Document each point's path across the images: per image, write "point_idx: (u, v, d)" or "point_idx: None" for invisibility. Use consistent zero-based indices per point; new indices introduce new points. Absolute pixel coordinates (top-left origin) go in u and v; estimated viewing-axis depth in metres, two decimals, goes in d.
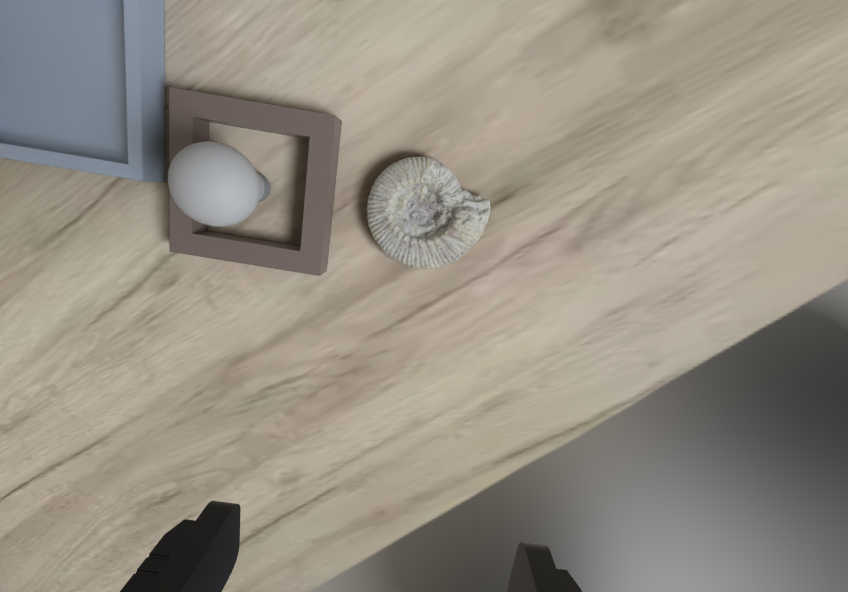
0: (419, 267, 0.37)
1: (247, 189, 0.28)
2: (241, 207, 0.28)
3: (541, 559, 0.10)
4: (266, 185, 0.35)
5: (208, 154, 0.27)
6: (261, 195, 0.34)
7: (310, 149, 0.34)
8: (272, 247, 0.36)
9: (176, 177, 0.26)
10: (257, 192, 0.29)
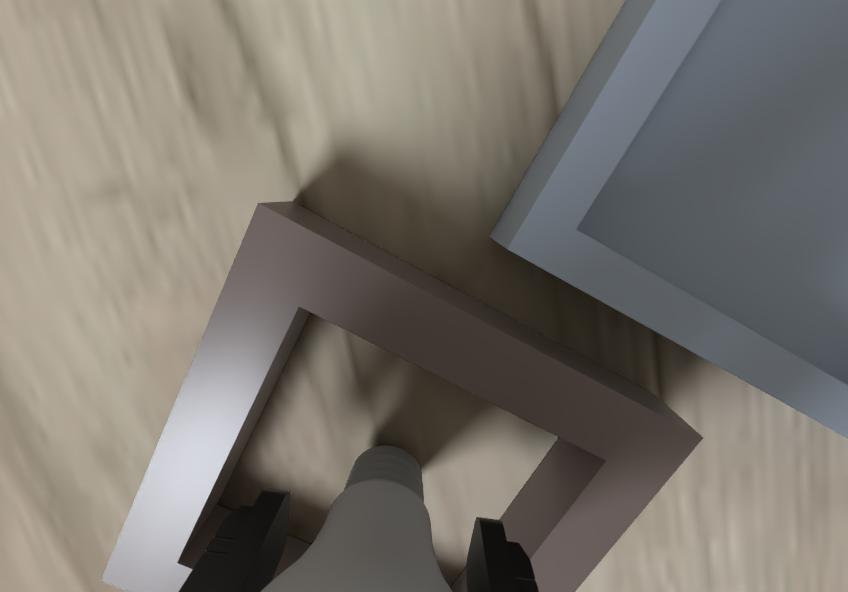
0: None
1: None
2: None
3: (494, 531, 0.11)
4: None
5: None
6: None
7: None
8: (202, 504, 0.12)
9: None
10: None
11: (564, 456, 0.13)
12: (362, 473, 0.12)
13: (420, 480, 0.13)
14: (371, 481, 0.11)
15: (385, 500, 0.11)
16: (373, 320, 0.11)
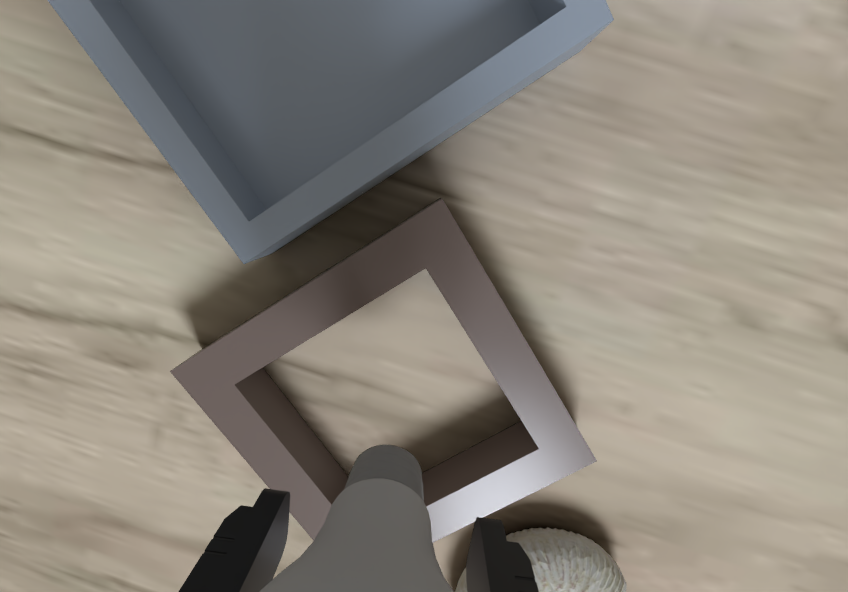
0: None
1: None
2: None
3: (493, 531, 0.11)
4: None
5: None
6: None
7: (521, 461, 0.18)
8: (329, 503, 0.19)
9: None
10: None
11: None
12: (362, 472, 0.12)
13: (420, 479, 0.13)
14: (371, 480, 0.11)
15: (385, 499, 0.11)
16: (260, 352, 0.17)
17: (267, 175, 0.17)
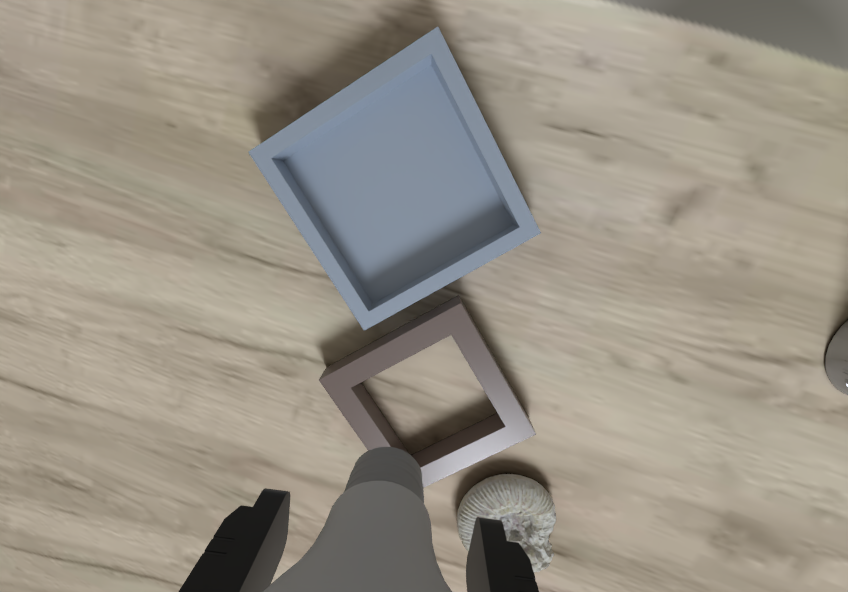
0: (467, 550, 0.39)
1: None
2: None
3: (493, 531, 0.11)
4: None
5: None
6: None
7: (496, 433, 0.35)
8: None
9: None
10: None
11: None
12: (362, 474, 0.12)
13: (420, 481, 0.13)
14: (371, 482, 0.11)
15: (385, 502, 0.11)
16: (365, 372, 0.33)
17: (372, 283, 0.33)
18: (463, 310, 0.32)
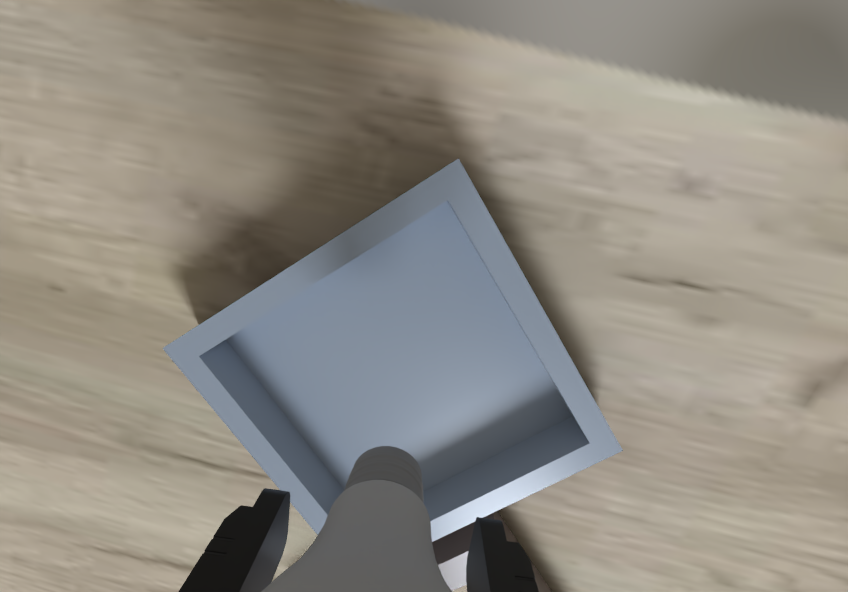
0: None
1: None
2: None
3: (493, 531, 0.11)
4: None
5: None
6: None
7: None
8: None
9: None
10: None
11: None
12: (362, 473, 0.12)
13: (420, 480, 0.13)
14: (371, 482, 0.11)
15: (384, 501, 0.11)
16: None
17: None
18: None
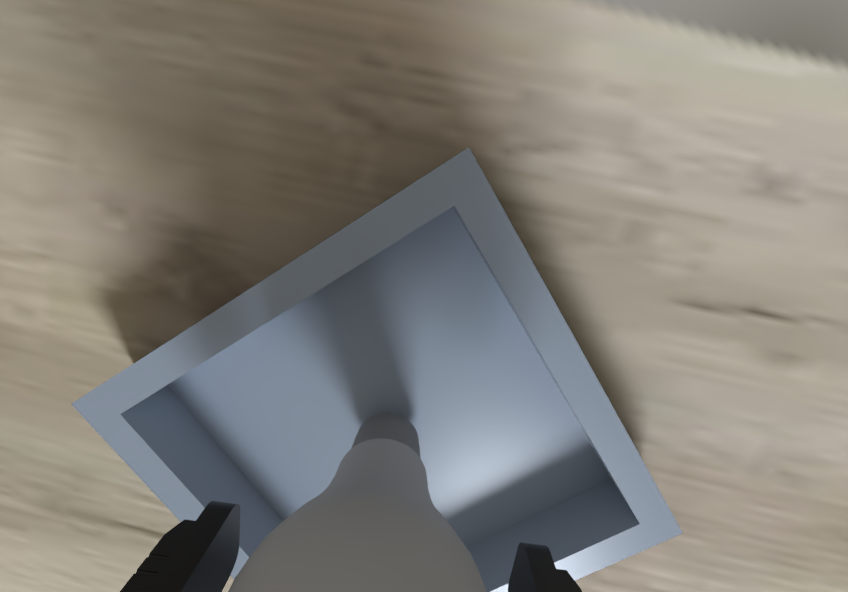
0: None
1: None
2: None
3: (541, 559, 0.10)
4: None
5: None
6: None
7: None
8: None
9: None
10: None
11: None
12: (366, 435, 0.14)
13: (417, 442, 0.15)
14: (375, 439, 0.13)
15: (388, 454, 0.12)
16: None
17: None
18: None
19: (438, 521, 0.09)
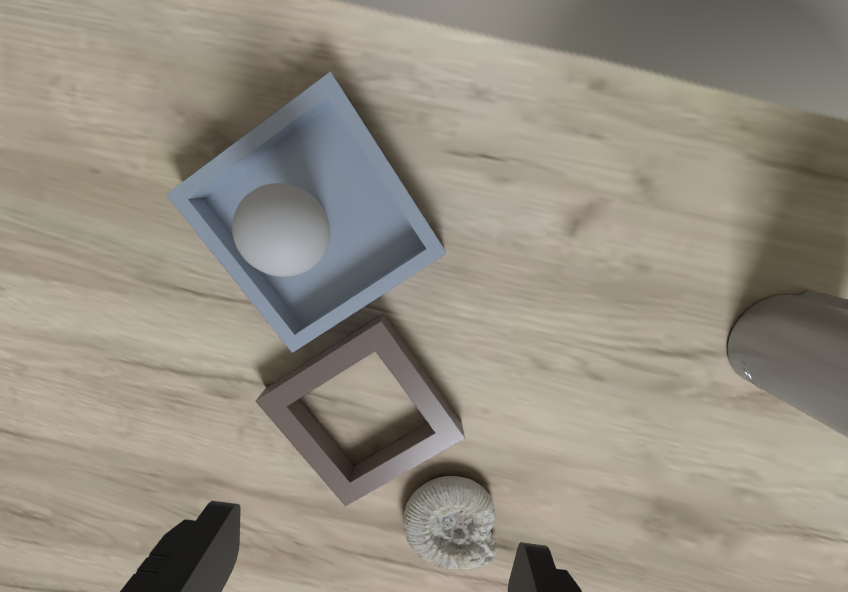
0: None
1: None
2: (245, 259, 0.25)
3: (541, 559, 0.10)
4: None
5: (299, 257, 0.24)
6: None
7: (427, 439, 0.37)
8: (333, 464, 0.38)
9: (278, 218, 0.23)
10: None
11: None
12: None
13: None
14: None
15: None
16: (299, 391, 0.36)
17: (300, 307, 0.35)
18: (384, 328, 0.34)
19: None
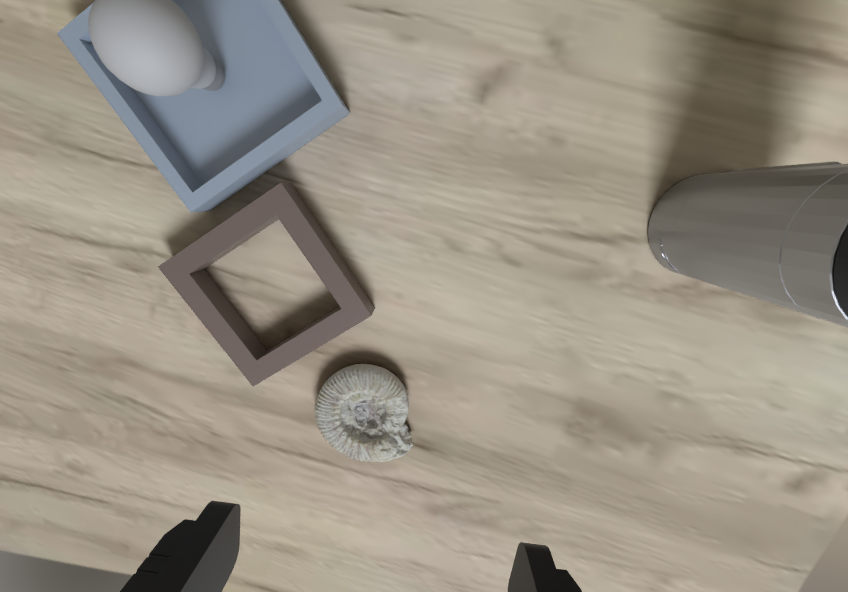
0: None
1: (126, 83, 0.25)
2: (106, 66, 0.25)
3: (541, 559, 0.10)
4: (202, 88, 0.32)
5: (155, 59, 0.24)
6: None
7: (333, 315, 0.36)
8: (239, 339, 0.37)
9: (126, 7, 0.22)
10: (137, 89, 0.26)
11: None
12: None
13: (219, 66, 0.31)
14: None
15: None
16: (201, 257, 0.35)
17: (204, 171, 0.35)
18: (284, 190, 0.33)
19: None
